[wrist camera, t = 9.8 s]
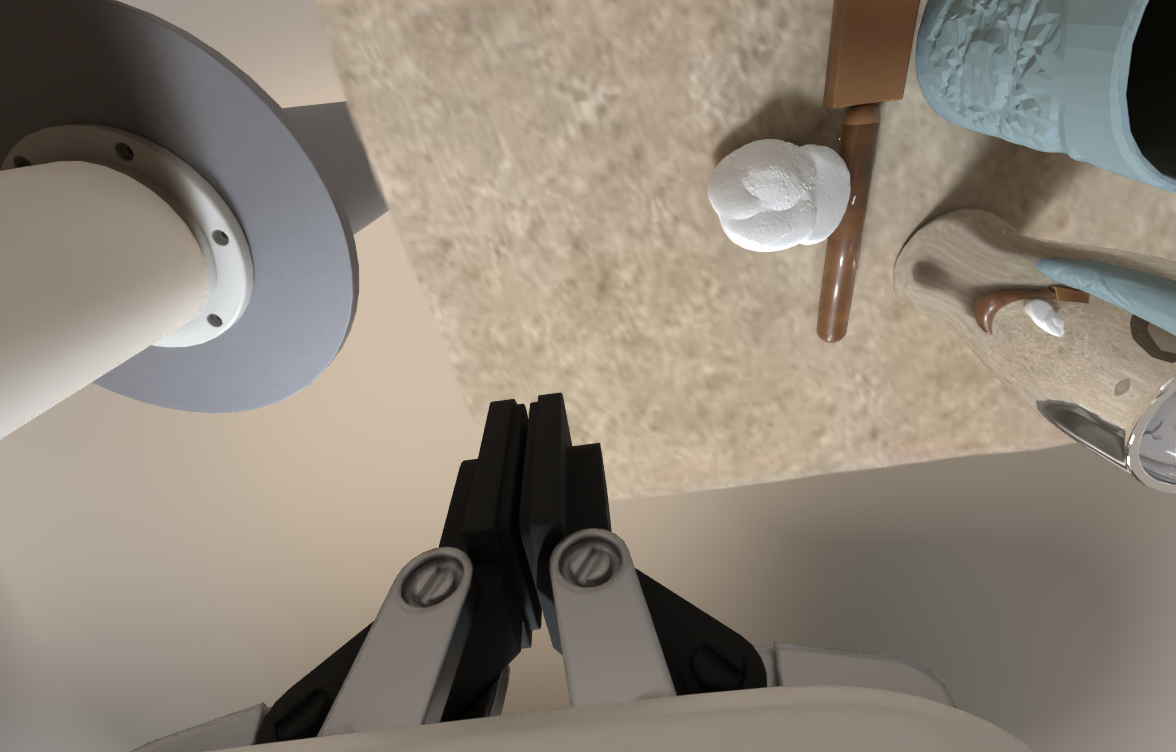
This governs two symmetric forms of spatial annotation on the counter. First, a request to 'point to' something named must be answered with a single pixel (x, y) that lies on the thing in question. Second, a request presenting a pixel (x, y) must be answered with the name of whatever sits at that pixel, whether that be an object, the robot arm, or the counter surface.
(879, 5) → the wooden spatula
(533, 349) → the counter surface
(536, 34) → the counter surface
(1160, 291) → the chrome tumbler
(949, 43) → the teal embossed cup
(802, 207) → the dumpling
